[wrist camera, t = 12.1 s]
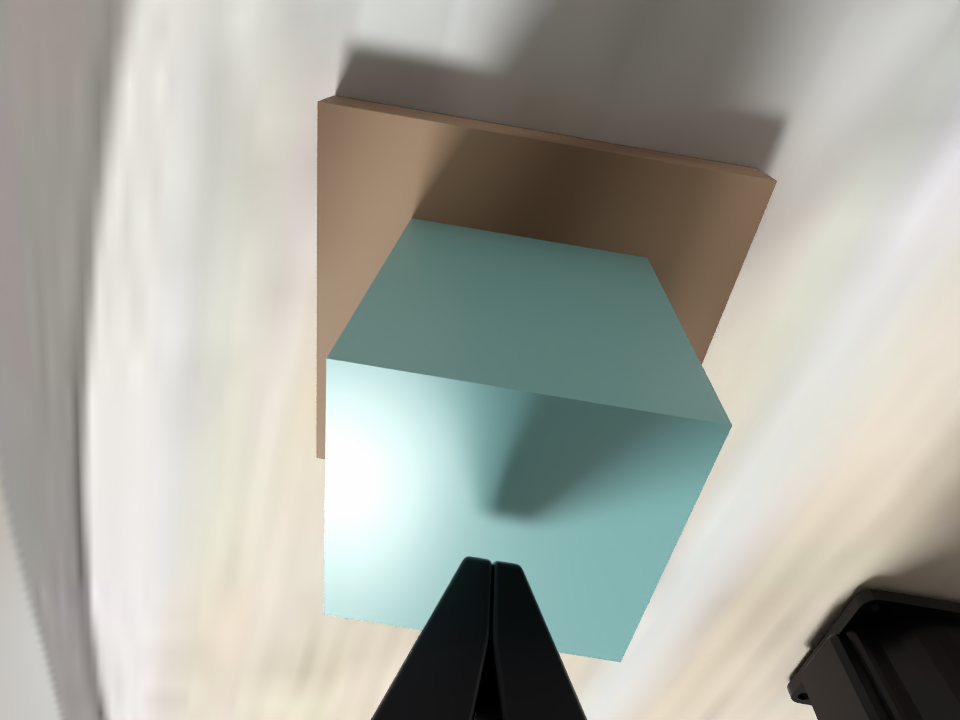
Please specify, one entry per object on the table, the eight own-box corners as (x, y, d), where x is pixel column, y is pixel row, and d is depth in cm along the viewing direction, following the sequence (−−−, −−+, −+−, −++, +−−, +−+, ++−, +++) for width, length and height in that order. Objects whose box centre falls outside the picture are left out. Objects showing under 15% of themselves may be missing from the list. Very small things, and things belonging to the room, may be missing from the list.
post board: (757, 168, 13) (908, 265, 8) (635, 483, 18) (677, 670, 13) (333, 95, 13) (201, 144, 8) (328, 433, 18) (246, 601, 13)
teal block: (647, 257, 13) (732, 425, 8) (589, 442, 16) (621, 662, 11) (411, 218, 13) (326, 358, 8) (394, 410, 16) (323, 615, 11)
